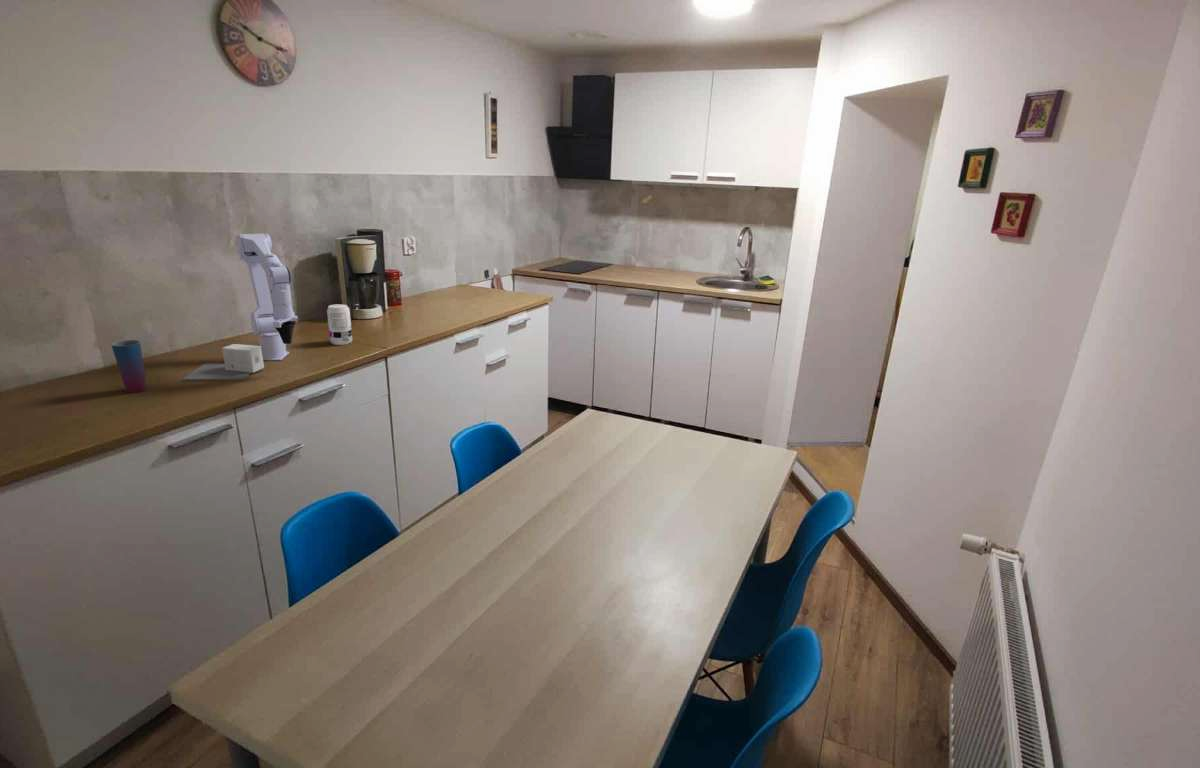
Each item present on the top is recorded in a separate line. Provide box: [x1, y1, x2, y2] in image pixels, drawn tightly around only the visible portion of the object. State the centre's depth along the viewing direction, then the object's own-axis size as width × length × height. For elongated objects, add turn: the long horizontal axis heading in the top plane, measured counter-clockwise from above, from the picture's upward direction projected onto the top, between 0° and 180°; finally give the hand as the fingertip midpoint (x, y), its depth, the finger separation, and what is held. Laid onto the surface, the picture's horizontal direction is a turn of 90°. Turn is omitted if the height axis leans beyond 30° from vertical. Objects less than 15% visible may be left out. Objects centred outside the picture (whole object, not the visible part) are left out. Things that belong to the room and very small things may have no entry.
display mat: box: [181, 363, 251, 382], centre depth 198 cm, size 16×18×1 cm
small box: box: [221, 343, 265, 374], centre depth 199 cm, size 8×6×10 cm
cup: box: [110, 339, 148, 394], centre depth 178 cm, size 7×7×15 cm
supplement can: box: [326, 303, 353, 346], centre depth 235 cm, size 8×8×15 cm
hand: (287, 343), depth 198 cm, fingers closed
